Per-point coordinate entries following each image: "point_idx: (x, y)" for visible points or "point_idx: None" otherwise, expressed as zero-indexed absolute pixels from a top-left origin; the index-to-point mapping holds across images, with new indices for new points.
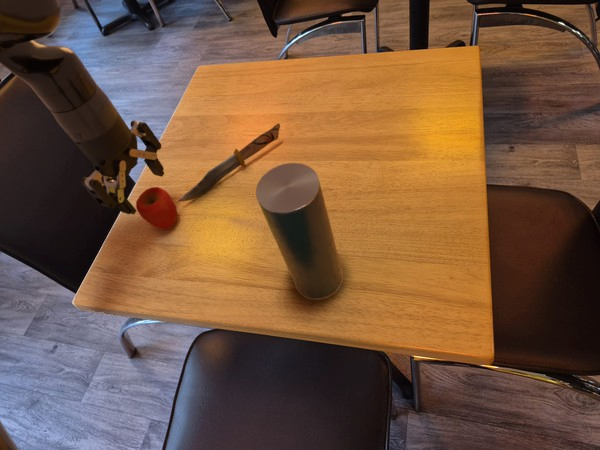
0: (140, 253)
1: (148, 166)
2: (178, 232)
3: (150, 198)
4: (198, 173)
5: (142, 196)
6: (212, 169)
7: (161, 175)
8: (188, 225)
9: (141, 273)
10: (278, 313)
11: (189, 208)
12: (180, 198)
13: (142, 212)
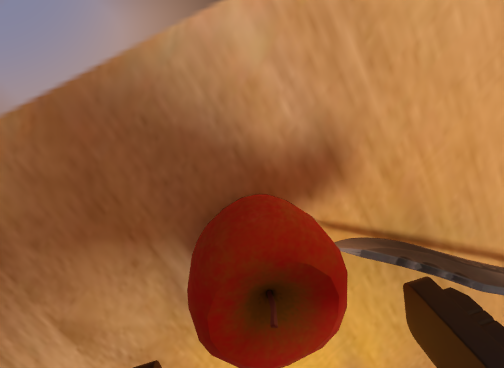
0: (99, 251)
1: (448, 328)
2: None
3: (278, 285)
4: (461, 148)
5: (265, 268)
6: (497, 290)
7: (413, 332)
8: None
9: (57, 314)
10: None
11: None
12: (344, 250)
13: (199, 336)
